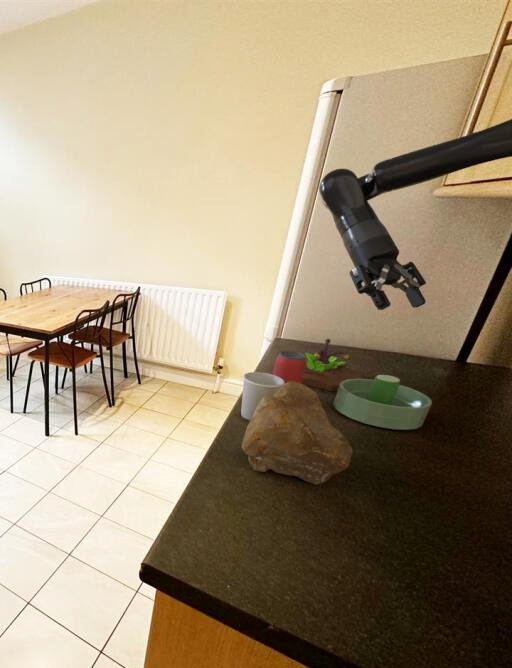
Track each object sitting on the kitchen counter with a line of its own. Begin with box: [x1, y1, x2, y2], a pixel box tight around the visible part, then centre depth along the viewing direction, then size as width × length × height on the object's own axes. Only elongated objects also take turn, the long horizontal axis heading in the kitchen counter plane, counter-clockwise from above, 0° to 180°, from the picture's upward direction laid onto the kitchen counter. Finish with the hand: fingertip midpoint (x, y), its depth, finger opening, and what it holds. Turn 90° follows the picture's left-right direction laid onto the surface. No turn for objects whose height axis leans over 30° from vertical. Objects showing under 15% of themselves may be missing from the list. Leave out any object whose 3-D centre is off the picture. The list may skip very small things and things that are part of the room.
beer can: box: [271, 350, 307, 387], centre depth 107 cm, size 7×7×12 cm
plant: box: [301, 338, 363, 393], centre depth 118 cm, size 20×20×11 cm
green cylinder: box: [367, 374, 402, 405], centre depth 97 cm, size 4×4×9 cm
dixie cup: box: [240, 371, 285, 421], centre depth 98 cm, size 8×8×10 cm
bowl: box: [333, 378, 433, 431], centre depth 98 cm, size 16×16×6 cm
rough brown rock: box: [241, 381, 354, 485], centre depth 79 cm, size 23×17×15 cm
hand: (402, 306), depth 87 cm, fingers open, 8 cm apart
